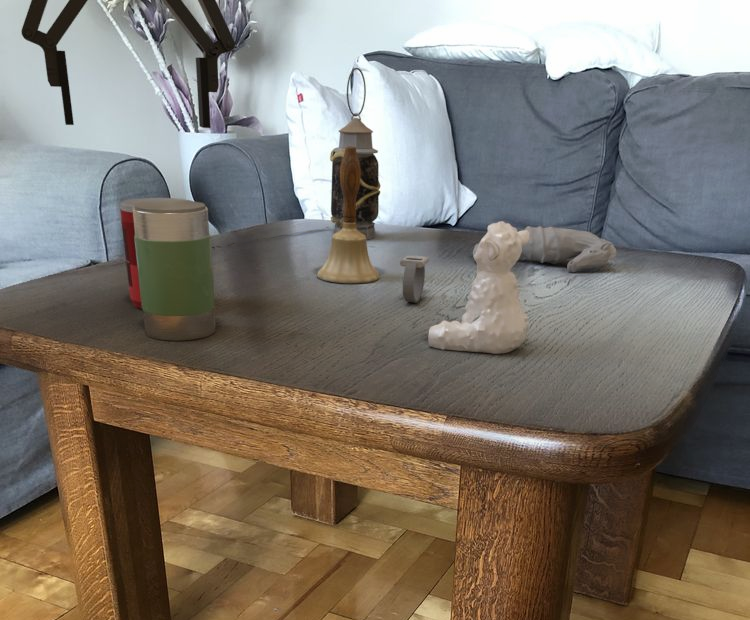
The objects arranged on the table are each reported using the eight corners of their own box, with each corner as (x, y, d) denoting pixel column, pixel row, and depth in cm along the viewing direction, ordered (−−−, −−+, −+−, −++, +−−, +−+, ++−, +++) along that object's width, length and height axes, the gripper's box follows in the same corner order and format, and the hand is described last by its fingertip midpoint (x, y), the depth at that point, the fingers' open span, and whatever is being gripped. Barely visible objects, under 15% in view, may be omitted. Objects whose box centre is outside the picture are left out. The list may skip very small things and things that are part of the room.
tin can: (129, 331, 83) (115, 204, 77) (184, 318, 88) (174, 197, 82) (176, 345, 79) (164, 212, 73) (231, 330, 84) (224, 205, 79)
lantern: (344, 230, 141) (345, 67, 130) (387, 235, 139) (392, 68, 127) (321, 238, 134) (321, 66, 123) (366, 243, 131) (370, 67, 120)
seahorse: (479, 264, 113) (624, 245, 112) (467, 222, 120) (603, 204, 120) (479, 296, 116) (620, 278, 116) (468, 253, 124) (600, 236, 124)
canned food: (213, 306, 93) (206, 204, 88) (145, 315, 89) (134, 208, 84) (186, 292, 98) (179, 196, 93) (121, 300, 94) (109, 199, 89)
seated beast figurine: (475, 328, 87) (485, 210, 82) (547, 344, 83) (562, 220, 77) (422, 346, 81) (429, 219, 75) (497, 365, 76) (510, 231, 71)
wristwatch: (407, 294, 100) (409, 252, 98) (429, 296, 100) (431, 254, 98) (395, 306, 95) (396, 262, 93) (418, 308, 94) (420, 264, 92)
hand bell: (391, 276, 109) (396, 147, 102) (354, 287, 103) (355, 150, 96) (343, 268, 114) (343, 143, 106) (304, 277, 108) (302, 145, 100)
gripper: (-36, -155, 68) (7, 125, 78) (259, -120, 76) (265, 130, 85) (-29, -136, 74) (10, 120, 84) (243, -106, 82) (250, 126, 92)
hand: (139, 126), depth 85 cm, fingers open, 13 cm apart
